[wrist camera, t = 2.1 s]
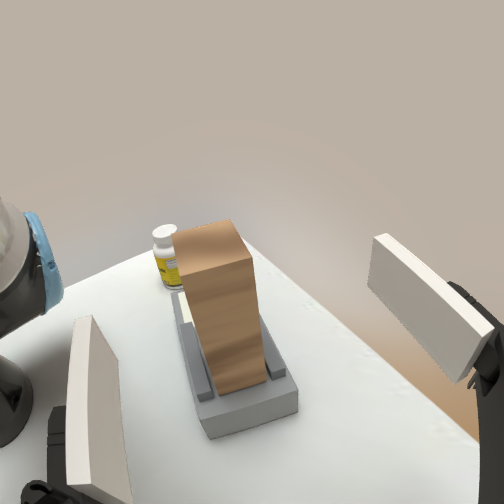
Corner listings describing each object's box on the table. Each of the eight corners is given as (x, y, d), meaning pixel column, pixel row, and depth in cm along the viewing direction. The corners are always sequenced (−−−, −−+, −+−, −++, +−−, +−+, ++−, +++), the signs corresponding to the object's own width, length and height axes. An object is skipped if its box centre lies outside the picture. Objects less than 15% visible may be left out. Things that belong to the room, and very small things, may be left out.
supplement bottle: (161, 275, 56) (146, 227, 50) (190, 267, 57) (178, 218, 51) (166, 294, 51) (149, 243, 46) (197, 284, 53) (184, 233, 47)
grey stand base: (297, 411, 32) (298, 381, 29) (209, 439, 30) (195, 413, 27) (244, 300, 48) (238, 265, 45) (179, 318, 46) (167, 284, 43)
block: (267, 380, 30) (252, 257, 22) (218, 395, 29) (179, 276, 21) (248, 339, 35) (229, 218, 27) (205, 351, 34) (170, 233, 26)
